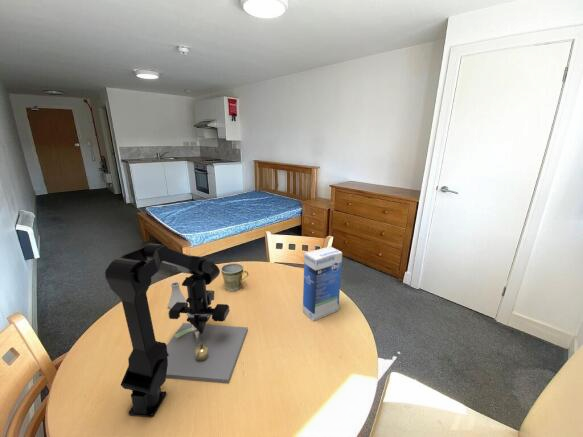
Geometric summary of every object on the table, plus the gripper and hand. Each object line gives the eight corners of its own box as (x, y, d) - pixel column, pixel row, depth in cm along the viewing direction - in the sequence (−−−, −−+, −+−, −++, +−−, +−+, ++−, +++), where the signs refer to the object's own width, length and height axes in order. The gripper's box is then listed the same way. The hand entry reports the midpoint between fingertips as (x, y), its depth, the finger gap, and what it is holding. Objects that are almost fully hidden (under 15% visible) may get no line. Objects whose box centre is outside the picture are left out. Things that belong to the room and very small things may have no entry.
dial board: (228, 383, 74) (228, 379, 74) (147, 375, 76) (146, 372, 75) (247, 330, 95) (247, 326, 95) (183, 325, 97) (183, 322, 97)
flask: (180, 311, 105) (177, 289, 102) (164, 309, 106) (161, 287, 104) (190, 301, 112) (188, 280, 109) (175, 299, 113) (172, 278, 110)
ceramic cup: (217, 290, 120) (216, 271, 117) (229, 280, 129) (228, 261, 127) (243, 295, 116) (242, 275, 114) (253, 284, 126) (252, 265, 123)
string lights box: (327, 302, 113) (330, 245, 106) (339, 311, 107) (343, 252, 100) (301, 311, 106) (303, 252, 99) (313, 322, 100) (316, 259, 93)
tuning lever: (209, 358, 80) (208, 350, 80) (196, 362, 79) (196, 354, 78) (201, 328, 93) (200, 321, 92) (190, 331, 92) (189, 324, 91)
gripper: (232, 280, 92) (235, 319, 97) (181, 279, 94) (187, 316, 98) (221, 298, 82) (225, 340, 86) (164, 296, 83) (171, 337, 88)
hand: (202, 332), depth 90 cm, fingers closed
